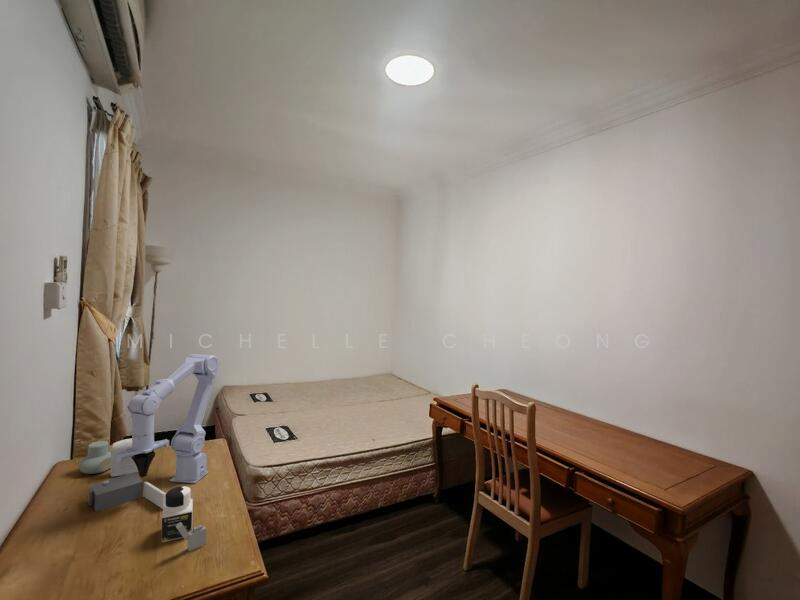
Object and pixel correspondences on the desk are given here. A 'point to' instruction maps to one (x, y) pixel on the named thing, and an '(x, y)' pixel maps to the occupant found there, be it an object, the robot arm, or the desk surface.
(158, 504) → the side door
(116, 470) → the photo printer
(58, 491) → the desk surface
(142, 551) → the desk surface
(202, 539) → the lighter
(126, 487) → the camera case
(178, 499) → the medicine bottle
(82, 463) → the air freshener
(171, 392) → the robot arm
